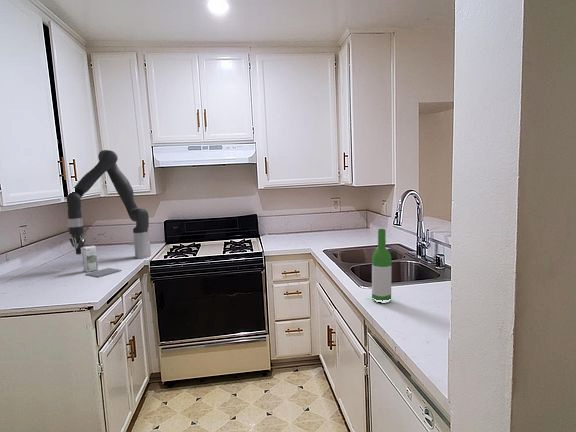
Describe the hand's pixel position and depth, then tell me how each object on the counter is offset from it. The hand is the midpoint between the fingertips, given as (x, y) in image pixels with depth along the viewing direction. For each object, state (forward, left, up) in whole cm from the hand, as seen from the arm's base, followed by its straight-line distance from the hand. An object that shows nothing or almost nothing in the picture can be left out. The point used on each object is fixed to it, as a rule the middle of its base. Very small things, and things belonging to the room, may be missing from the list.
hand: (78, 254), depth 208 cm
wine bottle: (-20, +176, -9) cm, 177 cm away
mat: (0, +23, -9) cm, 25 cm away
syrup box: (0, +11, -9) cm, 14 cm away
